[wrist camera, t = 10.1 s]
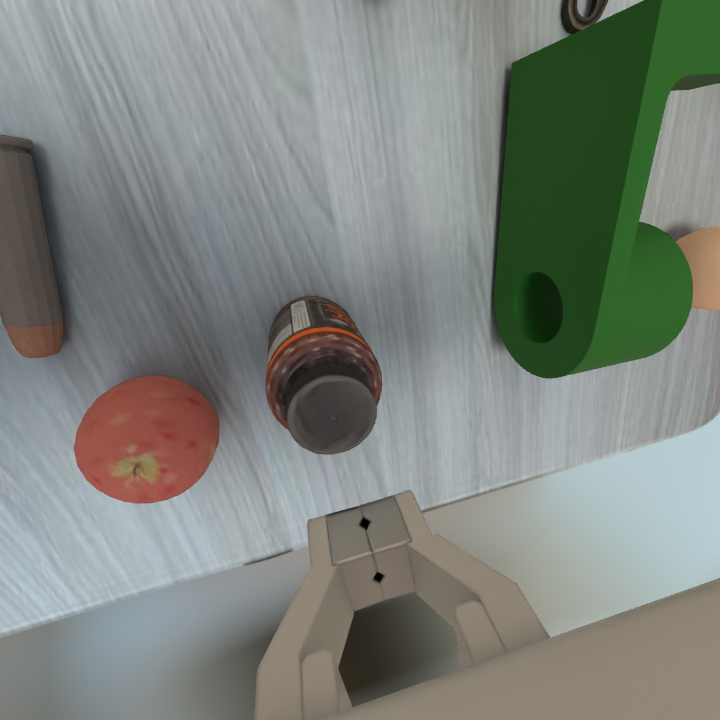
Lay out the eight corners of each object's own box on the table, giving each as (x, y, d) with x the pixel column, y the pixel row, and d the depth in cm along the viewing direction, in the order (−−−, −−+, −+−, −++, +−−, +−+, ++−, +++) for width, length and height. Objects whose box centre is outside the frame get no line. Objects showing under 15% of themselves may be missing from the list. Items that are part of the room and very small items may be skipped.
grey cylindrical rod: (4, 137, 19) (-72, 124, 17) (49, 142, 19) (-23, 130, 16) (47, 339, 24) (-7, 355, 21) (85, 349, 23) (33, 366, 20)
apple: (148, 334, 24) (93, 391, 17) (245, 393, 27) (234, 462, 20) (88, 416, 25) (13, 502, 18) (187, 464, 28) (157, 554, 21)
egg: (633, 305, 31) (734, 335, 24) (638, 235, 29) (752, 246, 22) (694, 285, 32) (810, 308, 25) (704, 214, 29) (836, 218, 22)
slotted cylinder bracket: (490, 347, 29) (559, 333, 31) (579, 404, 22) (667, 382, 23) (511, 63, 22) (603, 61, 23) (664, -10, 14) (790, -6, 15)
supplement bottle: (370, 331, 27) (426, 409, 17) (315, 388, 28) (337, 495, 18) (308, 275, 25) (330, 326, 15) (250, 339, 26) (233, 431, 15)
